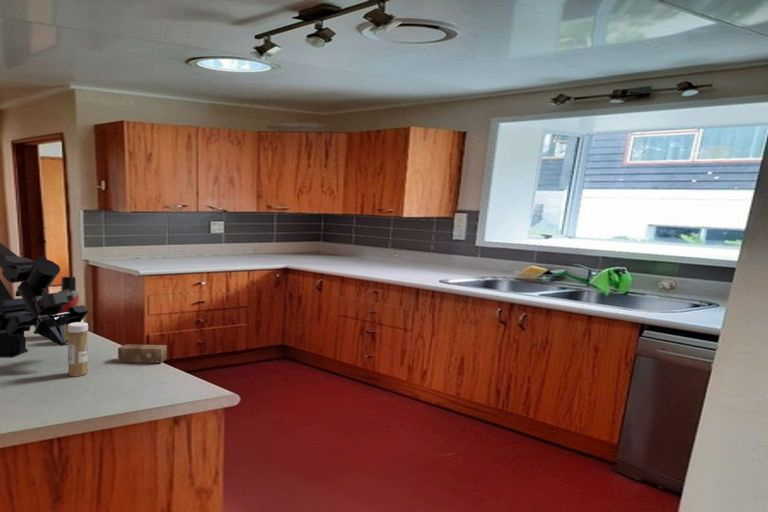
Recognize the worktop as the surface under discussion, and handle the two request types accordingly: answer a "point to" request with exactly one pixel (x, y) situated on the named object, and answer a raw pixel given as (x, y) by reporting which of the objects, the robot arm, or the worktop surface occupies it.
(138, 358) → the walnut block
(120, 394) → the worktop surface
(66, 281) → the lotion bottle
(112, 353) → the worktop surface
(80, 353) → the sprinkles bottle
